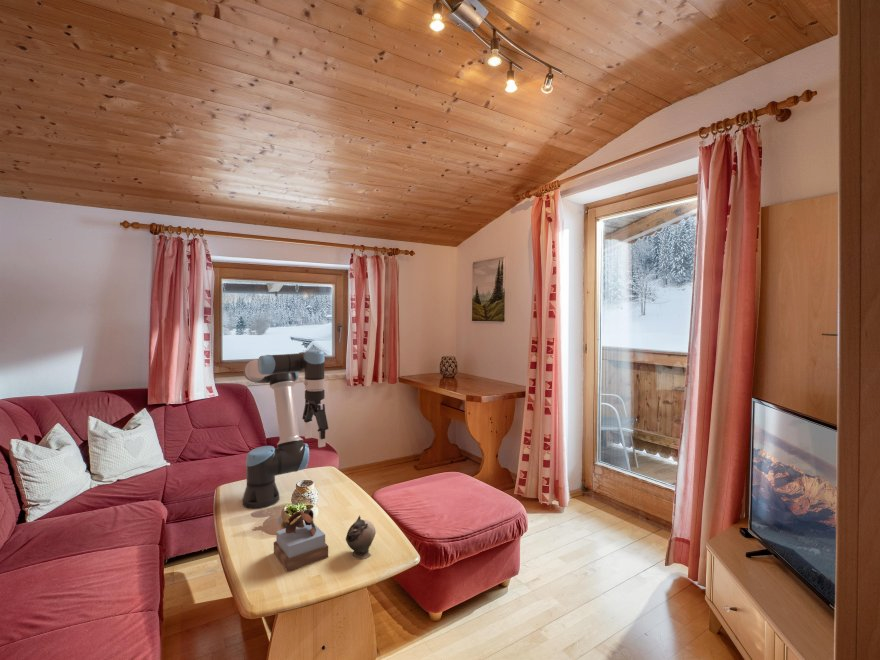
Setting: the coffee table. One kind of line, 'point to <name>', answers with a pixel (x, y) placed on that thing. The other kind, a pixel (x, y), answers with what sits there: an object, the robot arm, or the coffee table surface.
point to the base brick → (300, 557)
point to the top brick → (300, 540)
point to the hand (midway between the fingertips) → (314, 442)
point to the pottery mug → (301, 521)
